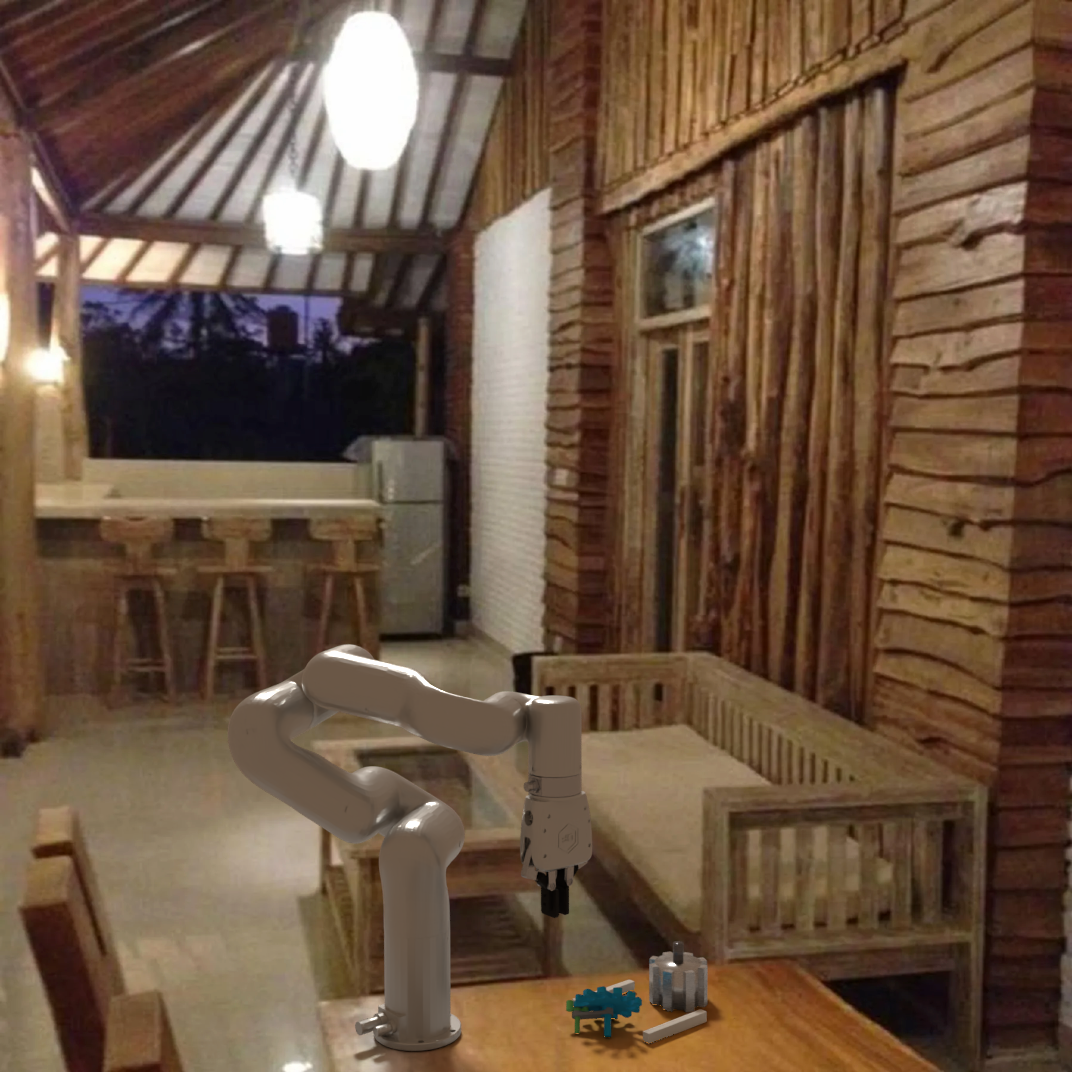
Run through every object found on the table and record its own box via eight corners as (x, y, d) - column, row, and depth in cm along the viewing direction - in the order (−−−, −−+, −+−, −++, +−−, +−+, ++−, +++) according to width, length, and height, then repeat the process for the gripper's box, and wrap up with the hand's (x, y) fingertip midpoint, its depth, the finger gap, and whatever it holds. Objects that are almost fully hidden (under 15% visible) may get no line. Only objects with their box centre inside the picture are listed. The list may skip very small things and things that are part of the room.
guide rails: (648, 1044, 188) (648, 1033, 188) (572, 1008, 201) (572, 998, 201) (706, 1021, 196) (706, 1011, 196) (629, 988, 208) (629, 979, 208)
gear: (647, 1008, 197) (635, 979, 190) (648, 1048, 193) (635, 1020, 186) (574, 1013, 199) (559, 984, 192) (573, 1052, 195) (558, 1025, 188)
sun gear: (678, 1017, 198) (679, 957, 197) (637, 999, 204) (637, 941, 204) (719, 1001, 203) (719, 944, 203) (677, 984, 210) (677, 928, 210)
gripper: (529, 798, 178) (529, 933, 179) (613, 781, 188) (613, 908, 189) (495, 788, 184) (495, 919, 185) (578, 772, 194) (578, 896, 195)
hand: (555, 913), depth 187 cm, fingers closed
